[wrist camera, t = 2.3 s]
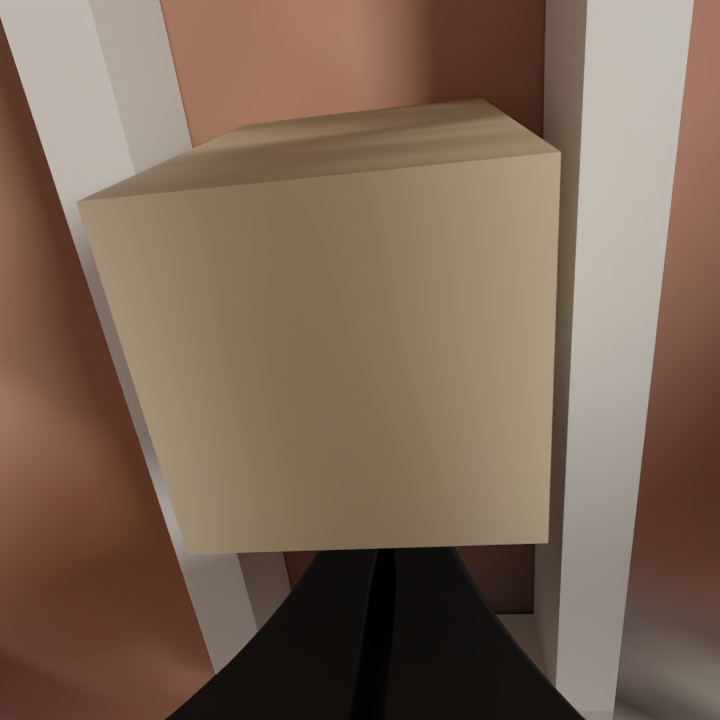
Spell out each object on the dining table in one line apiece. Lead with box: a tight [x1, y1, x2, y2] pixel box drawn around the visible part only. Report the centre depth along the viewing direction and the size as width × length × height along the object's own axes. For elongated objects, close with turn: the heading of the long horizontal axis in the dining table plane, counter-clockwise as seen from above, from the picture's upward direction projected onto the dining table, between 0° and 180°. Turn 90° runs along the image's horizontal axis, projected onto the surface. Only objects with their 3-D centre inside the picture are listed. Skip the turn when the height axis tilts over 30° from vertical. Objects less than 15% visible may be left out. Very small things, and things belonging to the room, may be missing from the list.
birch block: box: [76, 98, 561, 554], centre depth 9 cm, size 4×4×6 cm
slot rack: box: [0, 0, 694, 720], centre depth 10 cm, size 8×22×2 cm, turn 7°
